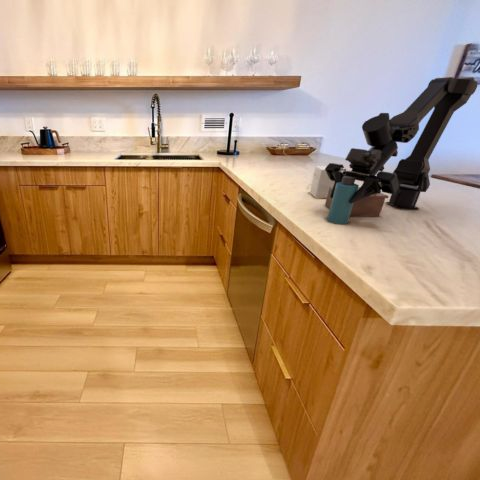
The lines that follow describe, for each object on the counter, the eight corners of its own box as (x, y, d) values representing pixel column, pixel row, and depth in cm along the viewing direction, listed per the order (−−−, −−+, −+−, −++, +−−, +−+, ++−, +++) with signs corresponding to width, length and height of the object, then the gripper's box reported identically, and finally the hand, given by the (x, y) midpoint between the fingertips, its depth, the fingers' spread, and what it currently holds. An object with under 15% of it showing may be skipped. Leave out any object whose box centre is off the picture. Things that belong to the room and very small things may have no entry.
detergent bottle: (342, 217, 87) (354, 175, 82) (351, 224, 82) (365, 179, 77) (323, 217, 88) (334, 174, 82) (332, 223, 83) (344, 179, 77)
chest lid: (367, 189, 95) (371, 175, 94) (388, 198, 86) (393, 183, 84) (329, 188, 96) (332, 175, 94) (345, 197, 87) (349, 182, 85)
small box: (331, 198, 106) (338, 170, 101) (314, 198, 107) (321, 169, 102) (324, 193, 113) (331, 166, 109) (309, 192, 114) (315, 165, 110)
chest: (359, 206, 98) (364, 189, 96) (379, 216, 88) (385, 198, 86) (324, 205, 99) (328, 188, 96) (340, 215, 89) (345, 197, 87)
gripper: (337, 134, 84) (302, 175, 85) (409, 140, 69) (367, 190, 69) (347, 160, 91) (315, 198, 91) (415, 170, 75) (376, 216, 76)
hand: (340, 200), depth 82 cm, fingers closed on detergent bottle, 5 cm apart
